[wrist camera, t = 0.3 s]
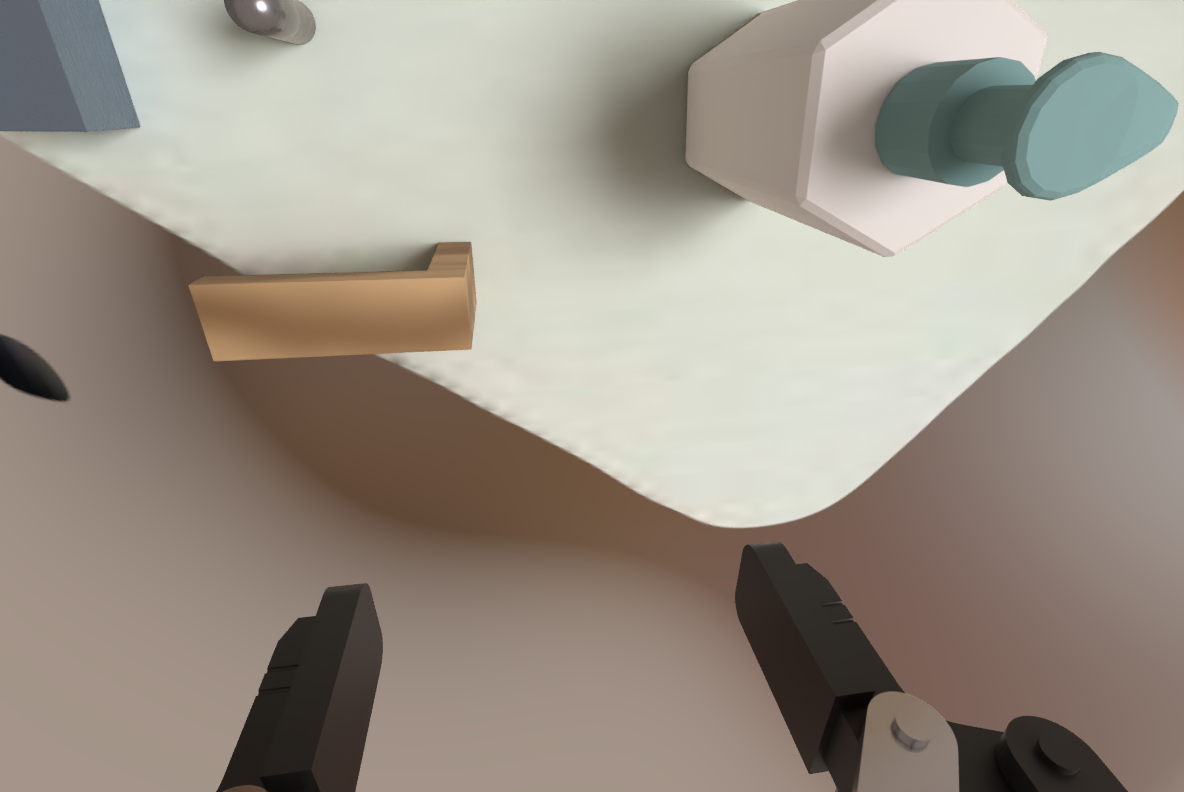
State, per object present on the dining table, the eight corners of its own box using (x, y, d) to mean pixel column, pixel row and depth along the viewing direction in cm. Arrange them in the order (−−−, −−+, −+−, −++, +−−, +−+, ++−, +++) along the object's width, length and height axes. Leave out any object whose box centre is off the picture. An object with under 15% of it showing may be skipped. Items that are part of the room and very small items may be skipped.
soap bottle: (815, 194, 37) (1150, 297, 18) (682, 204, 36) (887, 324, 17) (840, 9, 32) (1335, -120, 13) (688, 15, 32) (984, -115, 12)
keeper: (252, 246, 34) (188, 285, 27) (471, 242, 36) (464, 277, 29) (269, 309, 36) (213, 361, 29) (476, 302, 37) (471, 349, 30)
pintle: (269, -3, 28) (217, -25, 23) (310, -1, 29) (268, -23, 24) (279, 43, 29) (231, 32, 24) (319, 44, 30) (280, 33, 24)
